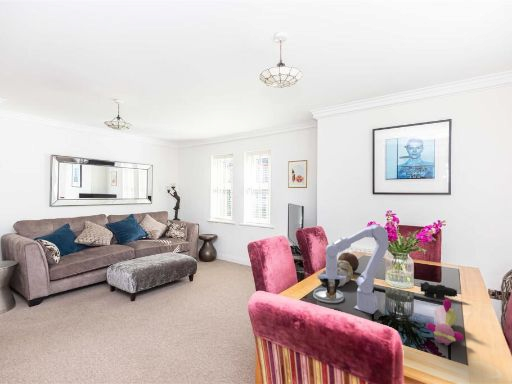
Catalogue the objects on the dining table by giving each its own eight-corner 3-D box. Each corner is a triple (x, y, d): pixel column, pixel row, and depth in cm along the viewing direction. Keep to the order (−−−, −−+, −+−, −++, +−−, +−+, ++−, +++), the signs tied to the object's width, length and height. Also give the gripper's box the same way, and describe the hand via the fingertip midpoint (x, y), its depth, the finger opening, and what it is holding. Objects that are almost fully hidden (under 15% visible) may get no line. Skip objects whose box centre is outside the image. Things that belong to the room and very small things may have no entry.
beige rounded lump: (314, 280, 177) (341, 266, 190) (329, 298, 168) (356, 283, 180) (320, 265, 168) (349, 252, 181) (336, 284, 159) (365, 268, 171)
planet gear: (338, 297, 140) (338, 285, 140) (333, 300, 136) (333, 288, 136) (329, 294, 143) (329, 283, 143) (324, 297, 140) (324, 286, 140)
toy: (429, 314, 129) (423, 345, 105) (432, 290, 128) (427, 315, 104) (461, 325, 122) (462, 360, 98) (464, 299, 120) (467, 328, 96)
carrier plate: (348, 296, 152) (348, 290, 152) (335, 305, 140) (335, 299, 140) (322, 289, 164) (322, 283, 164) (307, 297, 152) (307, 291, 152)
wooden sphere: (362, 272, 197) (362, 252, 197) (352, 277, 187) (352, 256, 187) (343, 268, 208) (344, 249, 208) (333, 272, 198) (333, 252, 198)
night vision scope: (457, 304, 148) (457, 297, 142) (419, 297, 158) (418, 291, 152) (456, 290, 152) (456, 283, 146) (419, 285, 162) (419, 278, 156)
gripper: (345, 266, 142) (345, 291, 142) (317, 264, 145) (317, 289, 145) (346, 270, 135) (346, 296, 135) (317, 268, 138) (317, 294, 138)
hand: (331, 293), depth 140 cm, fingers closed on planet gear, 3 cm apart
